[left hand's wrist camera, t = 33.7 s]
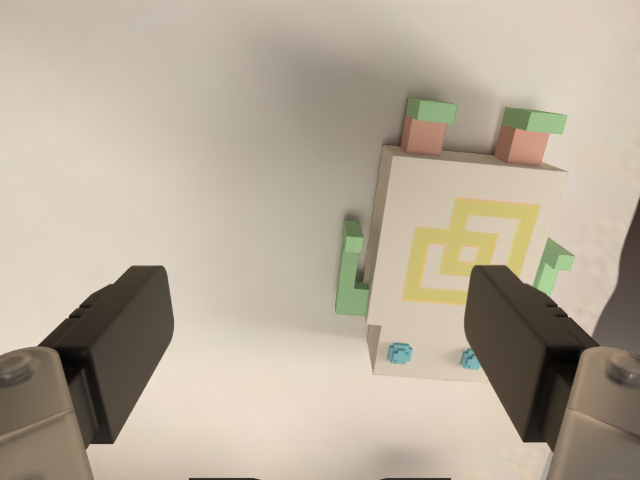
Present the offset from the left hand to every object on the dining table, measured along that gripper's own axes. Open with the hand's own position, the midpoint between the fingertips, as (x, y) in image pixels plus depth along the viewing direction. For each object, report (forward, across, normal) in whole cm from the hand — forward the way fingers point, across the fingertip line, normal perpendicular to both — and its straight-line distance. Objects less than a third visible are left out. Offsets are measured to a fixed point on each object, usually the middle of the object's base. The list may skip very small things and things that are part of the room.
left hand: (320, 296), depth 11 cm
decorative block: (+29, +12, -10) cm, 33 cm away
